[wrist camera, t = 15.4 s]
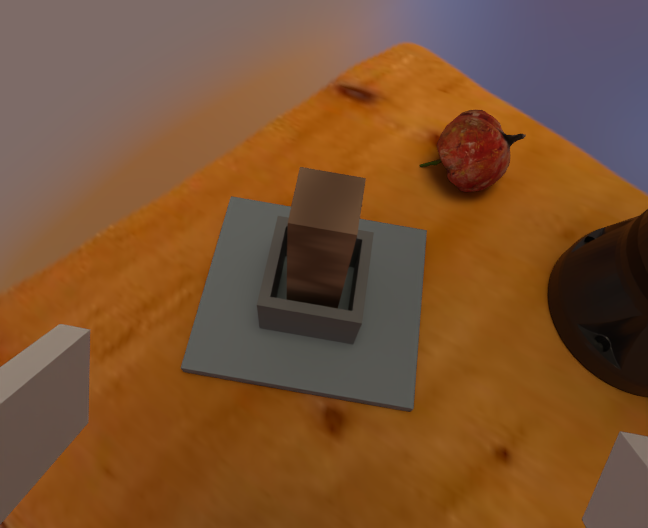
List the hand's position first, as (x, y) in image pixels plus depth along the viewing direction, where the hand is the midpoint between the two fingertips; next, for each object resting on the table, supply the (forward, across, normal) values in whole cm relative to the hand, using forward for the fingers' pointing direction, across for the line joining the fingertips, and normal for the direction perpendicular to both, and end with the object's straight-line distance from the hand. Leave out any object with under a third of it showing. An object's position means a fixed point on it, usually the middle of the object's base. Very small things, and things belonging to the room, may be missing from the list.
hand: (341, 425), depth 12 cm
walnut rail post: (+28, -2, -8) cm, 29 cm away
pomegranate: (+41, +10, +2) cm, 42 cm away
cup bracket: (+29, -2, -9) cm, 30 cm away
